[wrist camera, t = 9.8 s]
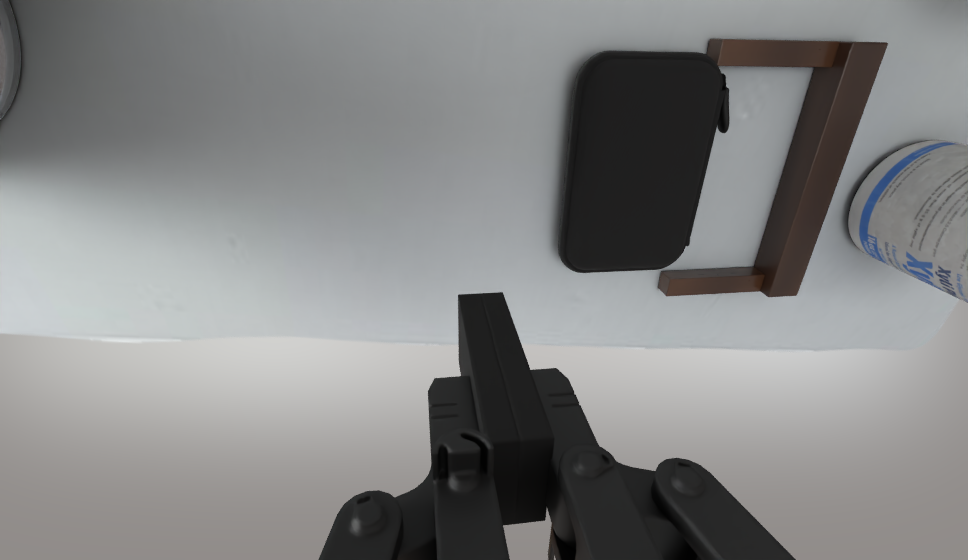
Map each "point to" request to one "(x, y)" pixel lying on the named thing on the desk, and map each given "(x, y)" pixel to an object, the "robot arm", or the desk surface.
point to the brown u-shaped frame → (795, 160)
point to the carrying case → (638, 157)
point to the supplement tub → (918, 214)
